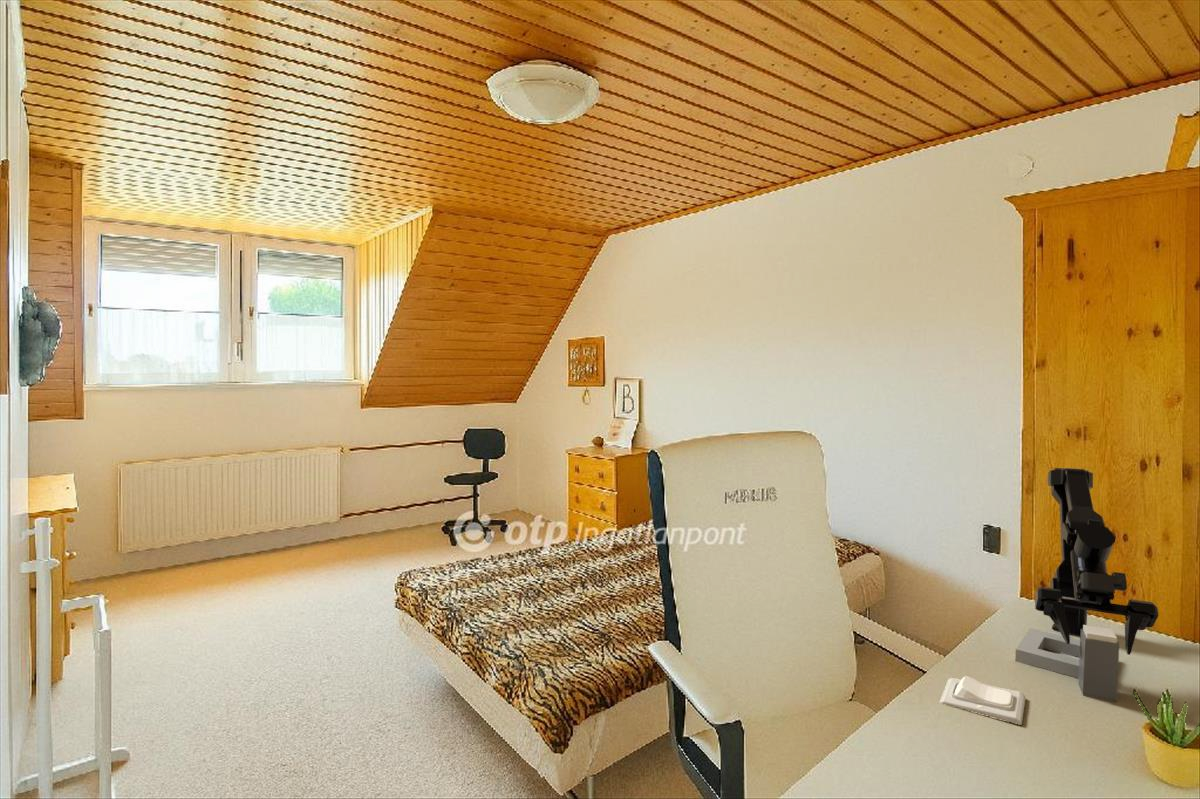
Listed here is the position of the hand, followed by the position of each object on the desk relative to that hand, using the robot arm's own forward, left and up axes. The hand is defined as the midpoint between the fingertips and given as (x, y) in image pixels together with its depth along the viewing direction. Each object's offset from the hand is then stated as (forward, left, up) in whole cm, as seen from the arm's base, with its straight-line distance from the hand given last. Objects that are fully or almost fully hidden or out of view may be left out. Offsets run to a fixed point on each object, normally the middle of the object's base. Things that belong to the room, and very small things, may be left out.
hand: (1098, 648), depth 121 cm
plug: (+1, 0, -8) cm, 8 cm away
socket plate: (-10, -7, -8) cm, 15 cm away
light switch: (+19, -15, -9) cm, 25 cm away
